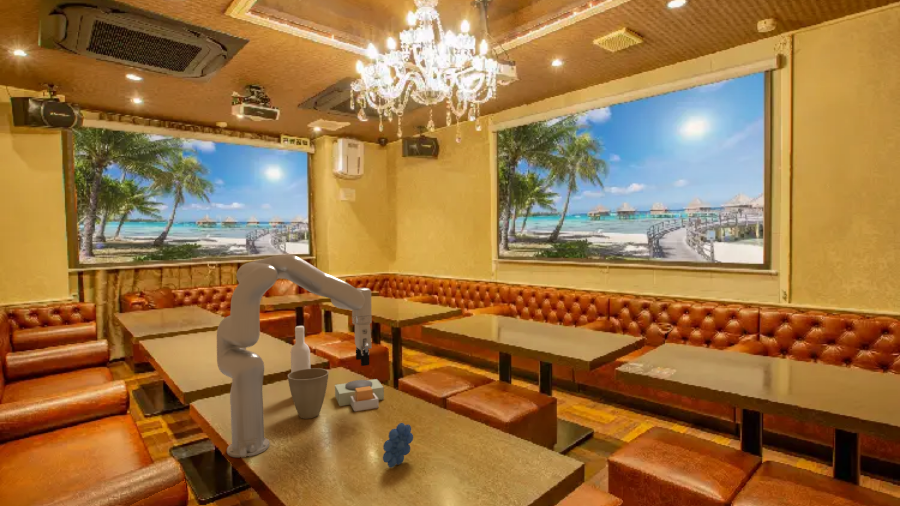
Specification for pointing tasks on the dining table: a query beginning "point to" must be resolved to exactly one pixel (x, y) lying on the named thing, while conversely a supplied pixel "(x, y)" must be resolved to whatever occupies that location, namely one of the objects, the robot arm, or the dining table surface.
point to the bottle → (300, 351)
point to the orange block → (363, 393)
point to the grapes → (397, 444)
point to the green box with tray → (347, 394)
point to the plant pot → (308, 390)
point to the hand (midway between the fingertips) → (362, 362)
